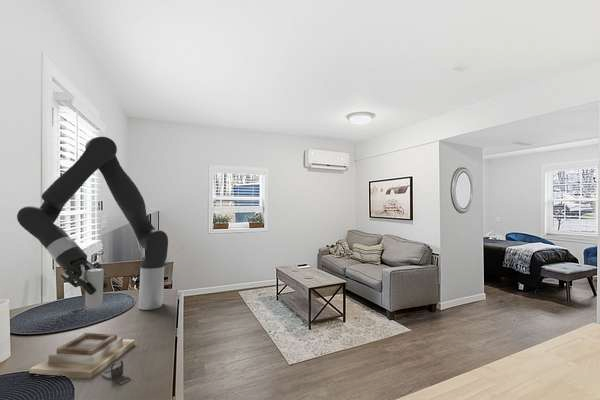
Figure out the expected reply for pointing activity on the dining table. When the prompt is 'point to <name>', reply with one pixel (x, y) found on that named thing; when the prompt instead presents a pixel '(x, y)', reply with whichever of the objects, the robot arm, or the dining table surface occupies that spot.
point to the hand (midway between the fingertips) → (99, 290)
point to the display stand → (84, 356)
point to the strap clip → (116, 374)
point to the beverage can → (97, 281)
